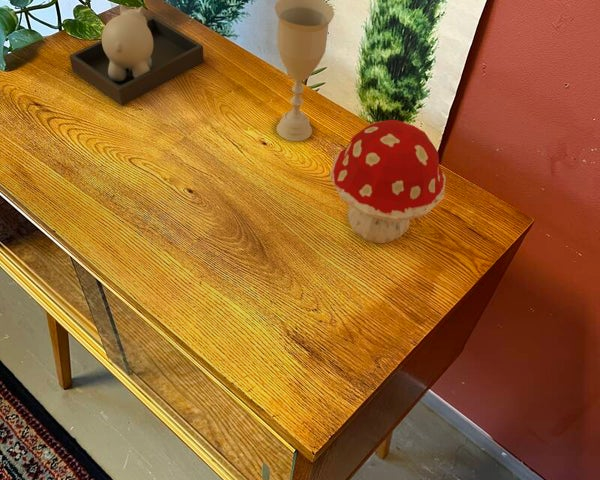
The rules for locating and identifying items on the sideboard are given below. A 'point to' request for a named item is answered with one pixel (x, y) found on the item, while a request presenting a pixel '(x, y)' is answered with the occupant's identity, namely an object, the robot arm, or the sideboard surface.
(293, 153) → the sideboard surface
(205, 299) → the sideboard surface
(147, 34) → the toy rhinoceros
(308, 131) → the chalice
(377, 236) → the decorative mushroom
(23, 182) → the sideboard surface
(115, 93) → the tray
